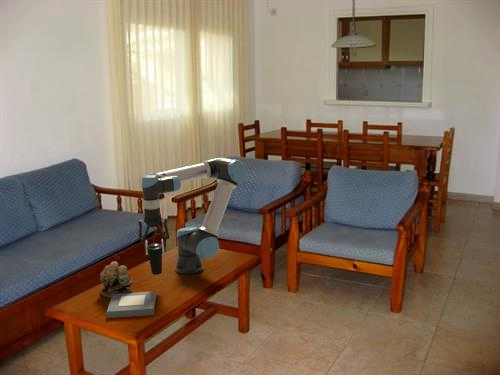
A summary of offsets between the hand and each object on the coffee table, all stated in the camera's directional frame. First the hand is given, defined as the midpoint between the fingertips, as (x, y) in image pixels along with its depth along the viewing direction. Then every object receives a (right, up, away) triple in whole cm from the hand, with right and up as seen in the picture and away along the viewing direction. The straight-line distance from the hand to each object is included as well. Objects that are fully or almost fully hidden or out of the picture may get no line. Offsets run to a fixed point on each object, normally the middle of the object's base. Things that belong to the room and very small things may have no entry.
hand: (155, 253), depth 268 cm
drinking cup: (0, -10, +2) cm, 10 cm away
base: (-8, -23, -16) cm, 29 cm away
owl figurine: (-18, -20, 0) cm, 27 cm away
